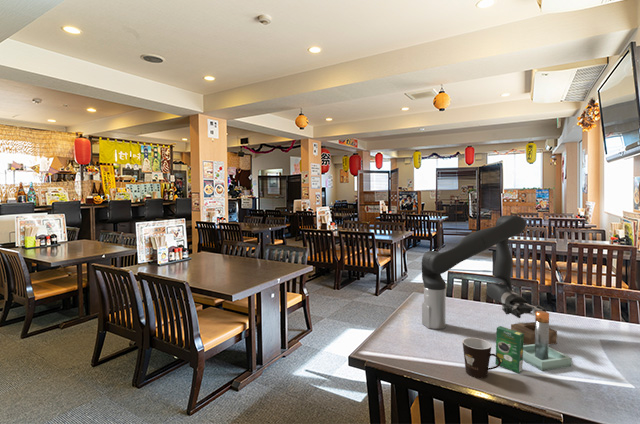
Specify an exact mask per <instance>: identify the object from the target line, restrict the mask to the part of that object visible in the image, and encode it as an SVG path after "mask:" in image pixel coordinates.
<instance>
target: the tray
mask: <svg viewBox="0 0 640 424" xmlns="http://www.w3.org/2000/svg"><path fill="white" fill-rule="evenodd" d="M523 361H524V362H525V363H528V364H529V365H530V366H533V367H534V368H536V369H538V370H539V371H542V372H543V371H545V372H546V371H549V370H550V371H551V370H559V369H564V368H565V369H566V368H572V367H573V366H572V365H573V364H572V362H573V357H571V356H568V354H567V355H566V354H565V353H563V352H560V351H558V350H557V349H555V348H552V347H550V346H549V348H548V360H540V359H539V358H537V357H535V344H531V345H526V344H523Z"/></svg>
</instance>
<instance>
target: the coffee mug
mask: <svg viewBox="0 0 640 424" xmlns="http://www.w3.org/2000/svg"><path fill="white" fill-rule="evenodd" d="M462 349H463V358H464V366H465V372H466V373H465V374H467V375H468V376H469V377H472V378H474V379H485V378H487V377H488V374H489V371H491V370H495V369H497V368H499V367H501V366H500V364H501V361H500V358H499V357H498V356H497V355H496V353H492V344H491V343H490V342H489V341H488V340H485V339H482V338H477V337H466V338H463V339H462ZM491 356H492V357H495V359H496V358H497V359H498V362H499V363H498V365H497V364H496V365H495V366H491V367H489V366H490V359H491Z"/></svg>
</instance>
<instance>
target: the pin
mask: <svg viewBox="0 0 640 424" xmlns="http://www.w3.org/2000/svg"><path fill="white" fill-rule="evenodd" d="M534 317H535V318H534V320H535V321H534V322H535V357H537V358H539V359H540V360H548V348H549V347H550V345H549V328H550V313H549V312H548V311H546V312H545V311H536V312H535V315H534Z"/></svg>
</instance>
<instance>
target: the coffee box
mask: <svg viewBox="0 0 640 424" xmlns="http://www.w3.org/2000/svg"><path fill="white" fill-rule="evenodd" d="M495 336H496V339H495V355H497V356H498V357H499V358H500V361H501V364H500V366H499V367H501V368H503V369H507V370H509V371H512V372H514V373H517V374H521V372H523V363H524V362H523V361H524V360H523V345H524V333H520V332H517V331H514V330H511V328H507V327H504V326H502V325H499V326H498V327H496V335H495ZM498 363H499V362H498V359H497V358H496V357H495V365H496V366H497V365H498Z"/></svg>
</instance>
